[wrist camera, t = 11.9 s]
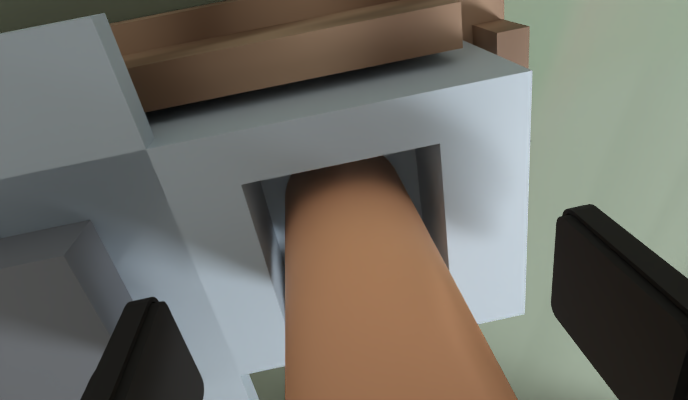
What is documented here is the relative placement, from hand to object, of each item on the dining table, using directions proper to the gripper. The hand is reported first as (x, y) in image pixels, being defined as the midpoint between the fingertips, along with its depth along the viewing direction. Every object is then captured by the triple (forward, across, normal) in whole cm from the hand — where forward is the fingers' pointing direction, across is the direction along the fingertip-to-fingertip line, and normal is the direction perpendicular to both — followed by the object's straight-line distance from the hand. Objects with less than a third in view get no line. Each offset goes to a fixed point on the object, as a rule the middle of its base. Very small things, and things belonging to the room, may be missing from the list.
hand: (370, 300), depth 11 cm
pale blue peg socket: (+7, +4, 0) cm, 8 cm away
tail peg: (+5, 0, 0) cm, 5 cm away
